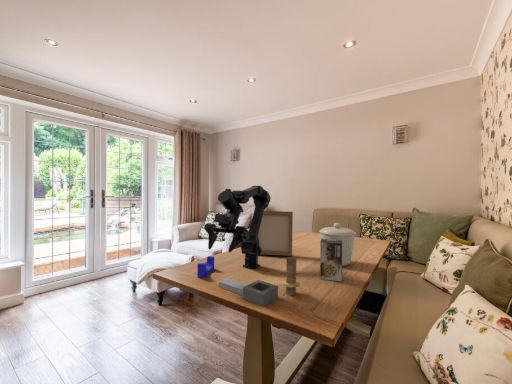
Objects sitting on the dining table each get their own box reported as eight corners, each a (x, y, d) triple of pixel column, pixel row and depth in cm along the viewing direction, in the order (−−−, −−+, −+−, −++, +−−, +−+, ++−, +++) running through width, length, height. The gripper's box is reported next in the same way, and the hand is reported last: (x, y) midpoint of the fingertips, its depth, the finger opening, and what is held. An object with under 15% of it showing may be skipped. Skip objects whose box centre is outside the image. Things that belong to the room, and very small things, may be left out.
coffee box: (341, 276, 106) (342, 240, 106) (342, 282, 100) (342, 243, 100) (320, 274, 109) (321, 238, 109) (319, 279, 103) (320, 241, 103)
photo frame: (291, 257, 134) (292, 212, 134) (253, 255, 137) (253, 211, 137) (292, 251, 148) (292, 210, 148) (257, 249, 152) (257, 209, 152)
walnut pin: (287, 288, 93) (288, 254, 93) (302, 292, 89) (303, 257, 89) (278, 293, 88) (279, 258, 88) (294, 299, 84) (295, 262, 84)
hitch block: (230, 281, 99) (231, 271, 99) (277, 297, 86) (278, 285, 85) (215, 288, 92) (215, 277, 92) (263, 306, 79) (263, 294, 78)
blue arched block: (205, 268, 115) (205, 255, 115) (214, 269, 114) (214, 256, 114) (194, 277, 103) (194, 263, 103) (203, 278, 103) (204, 264, 102)
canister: (320, 267, 118) (320, 224, 117) (317, 257, 136) (318, 219, 135) (359, 270, 115) (360, 226, 114) (351, 259, 132) (352, 220, 132)
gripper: (204, 204, 99) (188, 238, 90) (245, 206, 91) (231, 244, 83) (216, 218, 107) (203, 250, 99) (254, 221, 99) (243, 257, 91)
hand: (219, 250), depth 92 cm, fingers open, 9 cm apart
